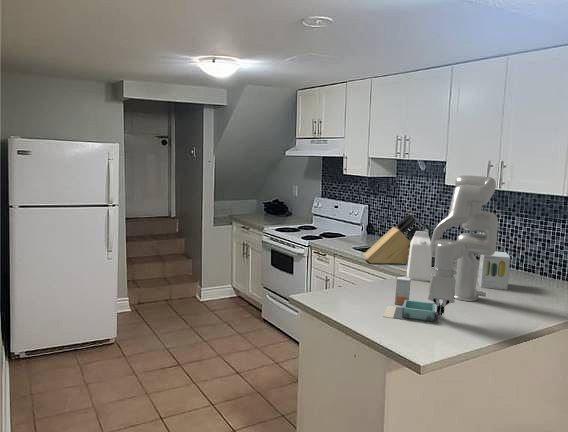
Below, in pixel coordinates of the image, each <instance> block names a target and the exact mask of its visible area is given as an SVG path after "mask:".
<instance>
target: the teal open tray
mask: <svg viewBox="0 0 568 432" xmlns="http://www.w3.org/2000/svg"><path fill="white" fill-rule="evenodd" d="M402 308H403V309H402V317H405V318H406V319H408V318H413V319H420V320H427V321H428V322H430V321H434V317H435V312H436V304H435V303H434V302H427V301H419V300H412V299H409V300H404V304H403V305H402Z"/></svg>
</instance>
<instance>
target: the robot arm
mask: <svg viewBox="0 0 568 432" xmlns="http://www.w3.org/2000/svg"><path fill="white" fill-rule="evenodd" d="M455 178H456V179H455V182H454V183H455V187H454V189H453V193H452V197H451V201H450V206H449V208H448V209H449V210H448V214H447V216H446V217H445V218H444V219H441V221H440V222H439V223H438V224H437V225H436V227H435V228H434V229H433V233H432V236H431V238H430V241H431V243H430V251H431V253H432V255H433V256H434V266H433V267H434V268H433V269H434V270H433V273H431V281H429V288H428V294H429V295H428V297H427V300H428V301H431V302H433V303H435V306H436V312H437V313H438V316H440V317H443V314H445V307H446V306H447V305H449V304H455V302H456V300H459V301H465V302H475V301H478V300H479V298H480V297H486V296H487V293H486V292H483V291H479V290H477V282H478V272H479V262H478V259H477V257H476V256H475V255H479V256H480V255H485V256H492V255H493V254H494V253H495V251H496V250H497V239H498V230H499V229H498V227H499V222H498V221H499V220H498V216H497V215H496V214H495V213H493V212H488V211H482V210H483V209H482V206H485V205H487V204H488V203H489V202H490V200H491V199H492V197H493V195H494V193H495V192H496V188H497V182H496V180H495V178H493V177H491V176H478V175H459V176H458V177H455ZM460 225H461V227H462V229H464V230H466V231H470V232H473V233H470V232H462V233H460V234H459V235H458V236H457V238H456V240H453V239H447V238H446V239H445V238H441V236H442V235H443V233H444V232H445V231H447V230H448V229H450V228H453V227H457V226H460ZM474 232H478V233H474ZM481 233H484V234H481ZM455 260H456V269H454V265H455V264H454V263H455ZM454 275H455V276H454ZM455 299H456V300H455ZM440 300H442V303H440Z"/></svg>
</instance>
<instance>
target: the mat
mask: <svg viewBox="0 0 568 432" xmlns="http://www.w3.org/2000/svg"><path fill="white" fill-rule="evenodd" d="M402 309H403V307H401V306H395V305H394V306H392V305H387V306H386V307H385V311H384V313H383V318H389V319H396V320H405V321H410V322H419V323H427V324H433V325H439V315H438V313H437V311H435V317H434V321H430V322H428V321H427V320H420V319H413V318H408V319H406V318H405V317H402Z"/></svg>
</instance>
